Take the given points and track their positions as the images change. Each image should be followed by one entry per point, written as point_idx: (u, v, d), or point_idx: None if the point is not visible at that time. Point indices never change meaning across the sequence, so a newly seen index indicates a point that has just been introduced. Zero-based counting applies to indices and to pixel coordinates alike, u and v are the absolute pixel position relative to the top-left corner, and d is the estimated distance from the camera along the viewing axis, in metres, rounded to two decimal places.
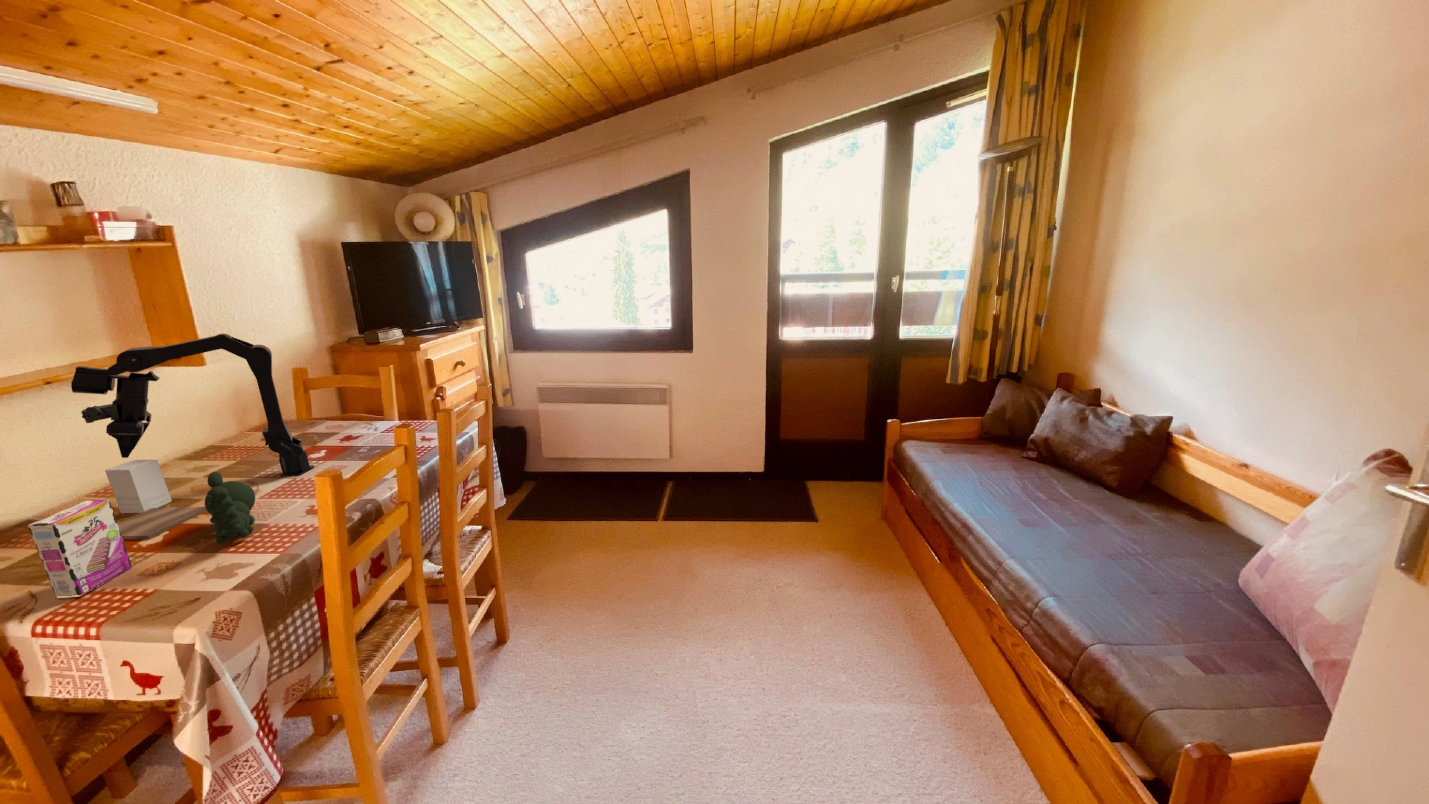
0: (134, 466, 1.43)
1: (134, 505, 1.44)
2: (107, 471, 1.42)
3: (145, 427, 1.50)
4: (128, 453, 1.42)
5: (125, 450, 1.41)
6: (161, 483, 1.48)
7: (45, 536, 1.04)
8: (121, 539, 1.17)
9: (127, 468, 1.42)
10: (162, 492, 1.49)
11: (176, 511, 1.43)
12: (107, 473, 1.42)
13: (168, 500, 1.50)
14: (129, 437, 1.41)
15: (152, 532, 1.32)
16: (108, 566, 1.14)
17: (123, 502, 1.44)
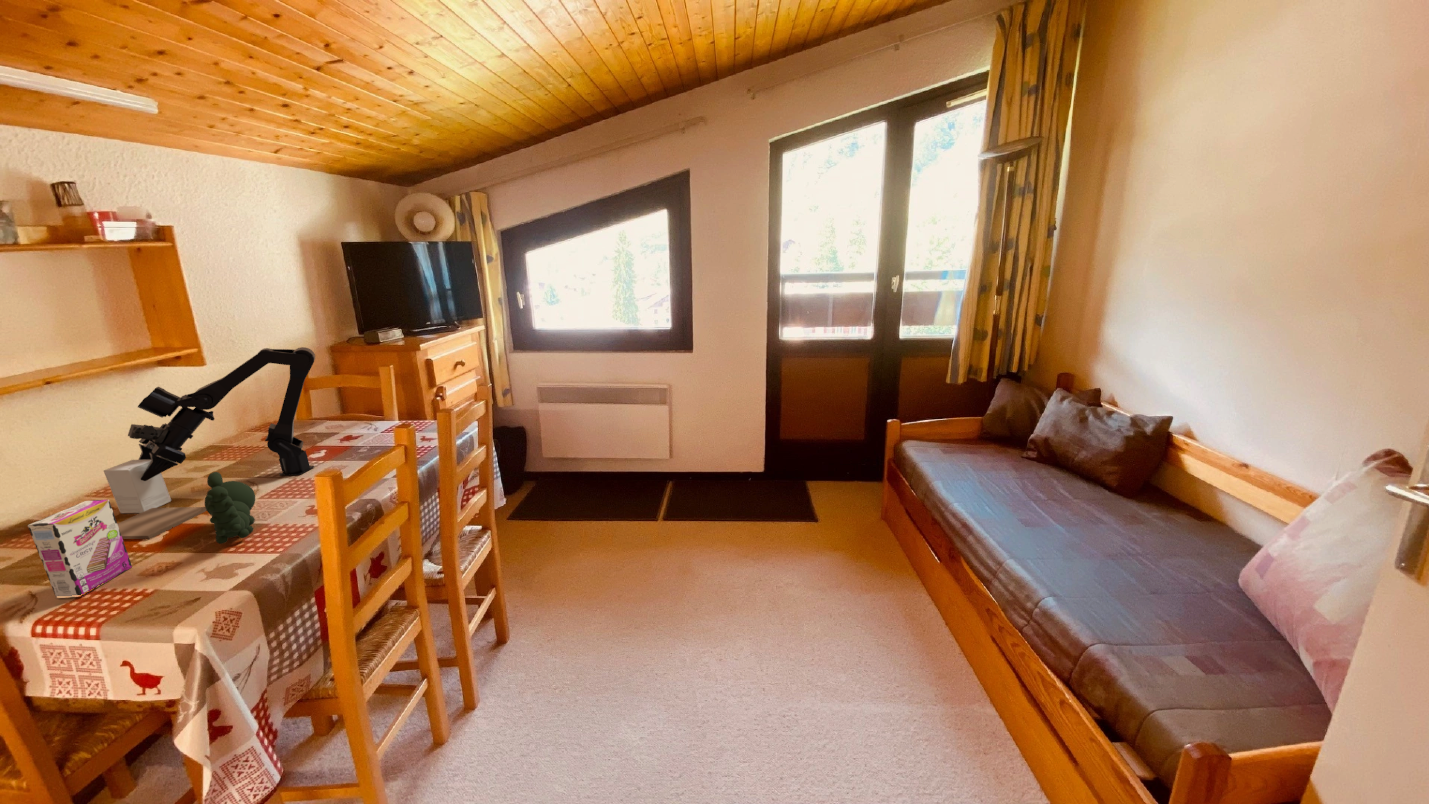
0: (133, 466, 1.43)
1: (133, 505, 1.44)
2: (106, 471, 1.41)
3: None
4: (149, 477, 1.44)
5: (149, 474, 1.44)
6: (160, 483, 1.48)
7: (45, 536, 1.04)
8: (121, 539, 1.17)
9: (126, 468, 1.42)
10: (161, 492, 1.49)
11: (176, 511, 1.43)
12: (106, 473, 1.41)
13: (168, 500, 1.50)
14: (163, 463, 1.45)
15: (152, 532, 1.32)
16: (108, 566, 1.14)
17: (122, 502, 1.44)
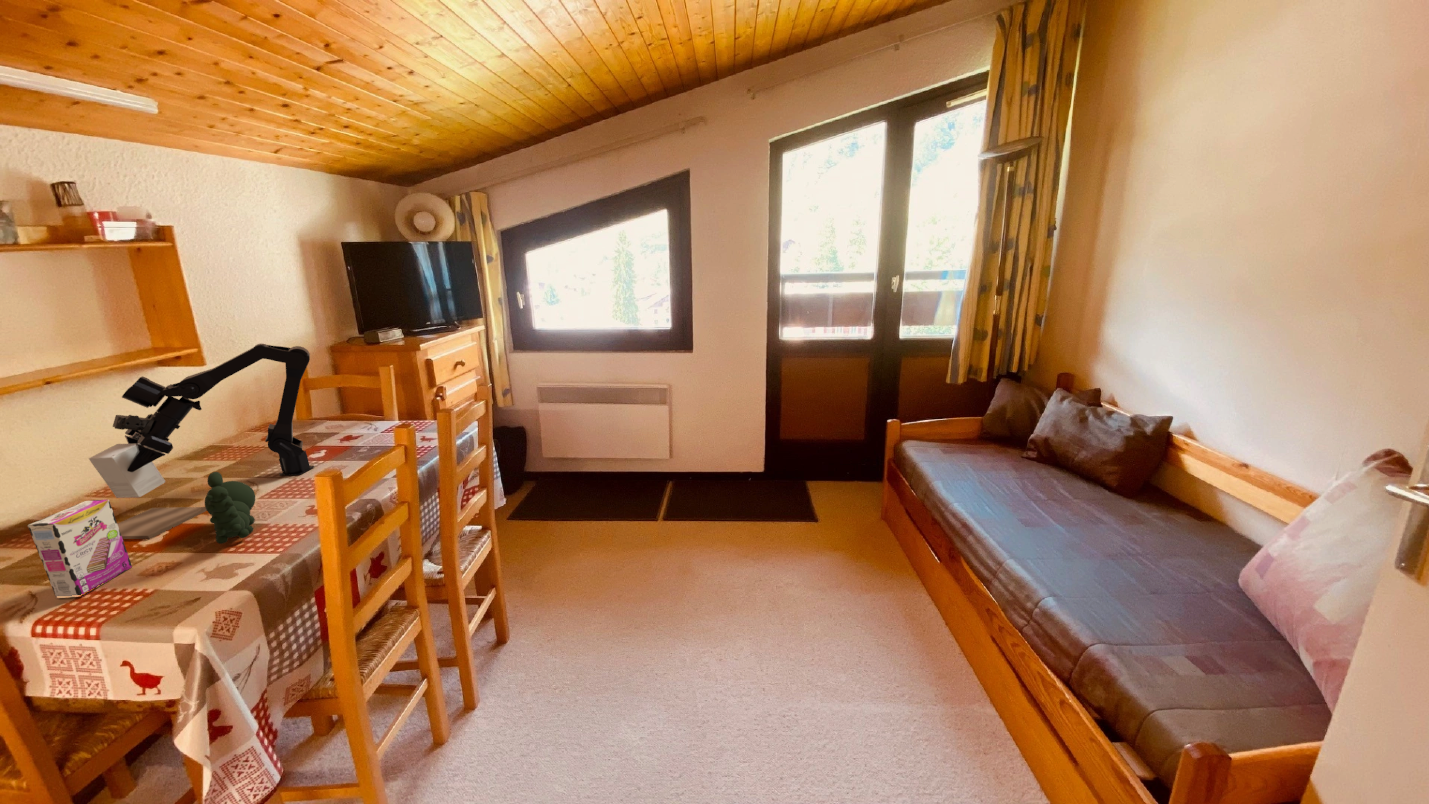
0: (117, 453, 1.40)
1: (127, 490, 1.42)
2: (91, 459, 1.39)
3: None
4: (136, 468, 1.42)
5: (136, 464, 1.41)
6: (150, 466, 1.46)
7: (45, 536, 1.04)
8: (121, 539, 1.17)
9: (110, 455, 1.39)
10: (153, 474, 1.47)
11: (176, 511, 1.43)
12: (92, 461, 1.39)
13: (162, 481, 1.49)
14: (149, 453, 1.43)
15: (152, 532, 1.32)
16: (108, 566, 1.14)
17: (115, 488, 1.42)
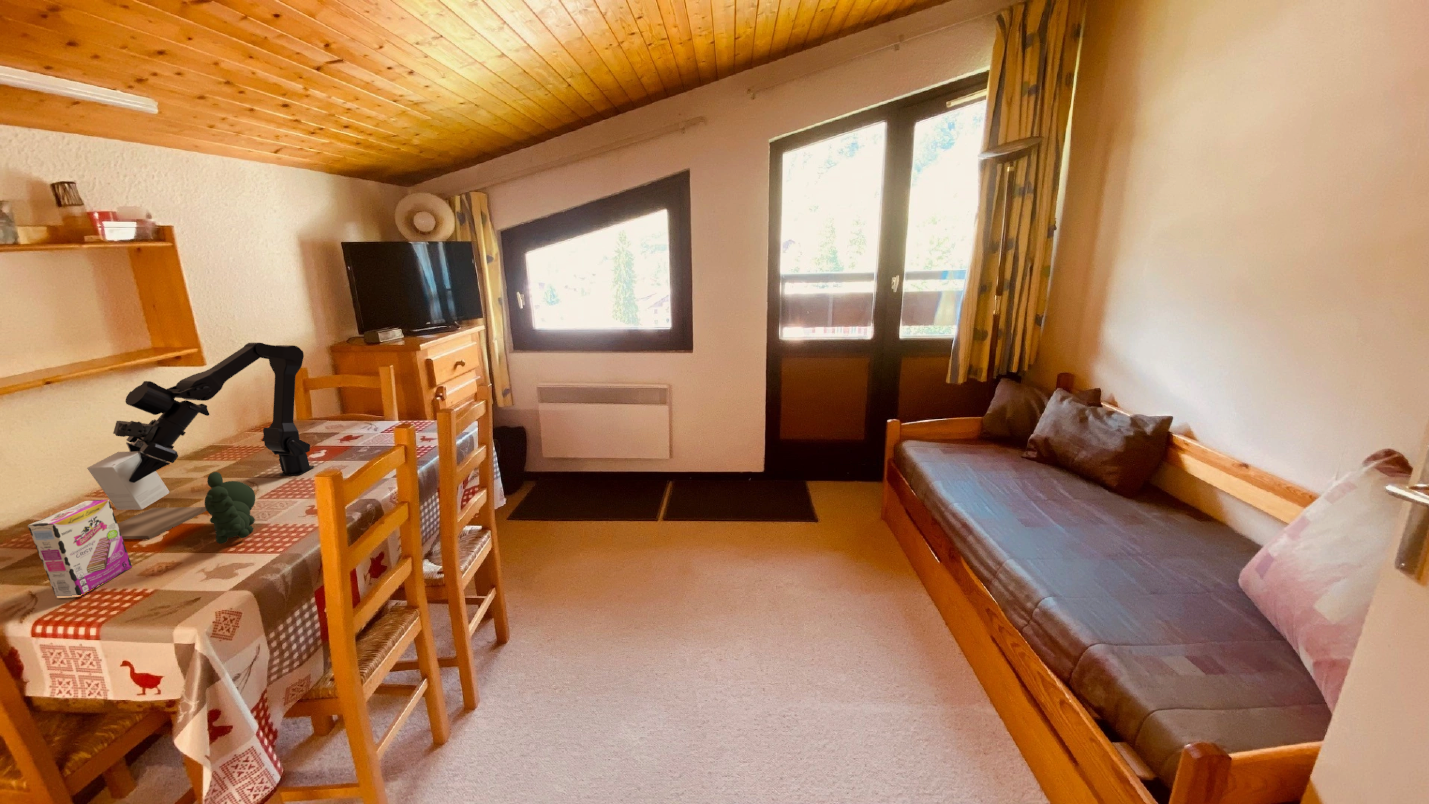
0: (118, 462, 1.29)
1: (128, 502, 1.32)
2: (90, 469, 1.28)
3: None
4: (138, 478, 1.31)
5: (139, 474, 1.31)
6: (153, 475, 1.36)
7: (45, 536, 1.04)
8: (121, 539, 1.17)
9: (110, 464, 1.29)
10: (156, 485, 1.36)
11: (176, 511, 1.43)
12: (90, 471, 1.29)
13: (166, 492, 1.38)
14: (153, 462, 1.33)
15: (152, 532, 1.32)
16: (108, 566, 1.14)
17: (116, 499, 1.32)
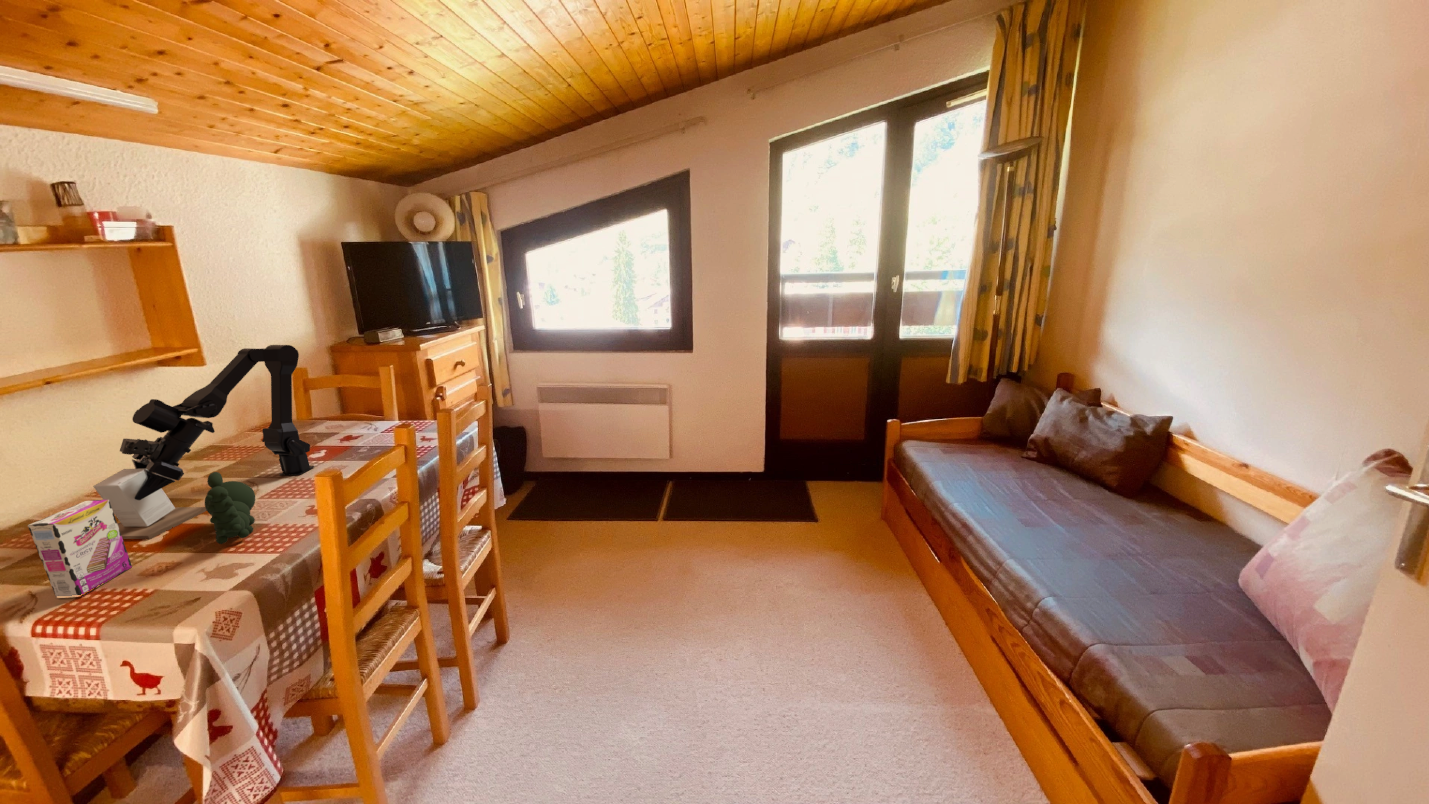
0: (123, 480, 1.30)
1: (134, 519, 1.33)
2: (96, 487, 1.29)
3: None
4: (144, 496, 1.32)
5: (144, 492, 1.32)
6: (158, 492, 1.37)
7: (45, 536, 1.04)
8: (121, 539, 1.17)
9: (115, 483, 1.30)
10: (162, 501, 1.37)
11: (176, 511, 1.43)
12: (96, 489, 1.30)
13: (171, 508, 1.39)
14: (158, 480, 1.34)
15: (152, 532, 1.32)
16: (108, 566, 1.14)
17: (122, 516, 1.33)
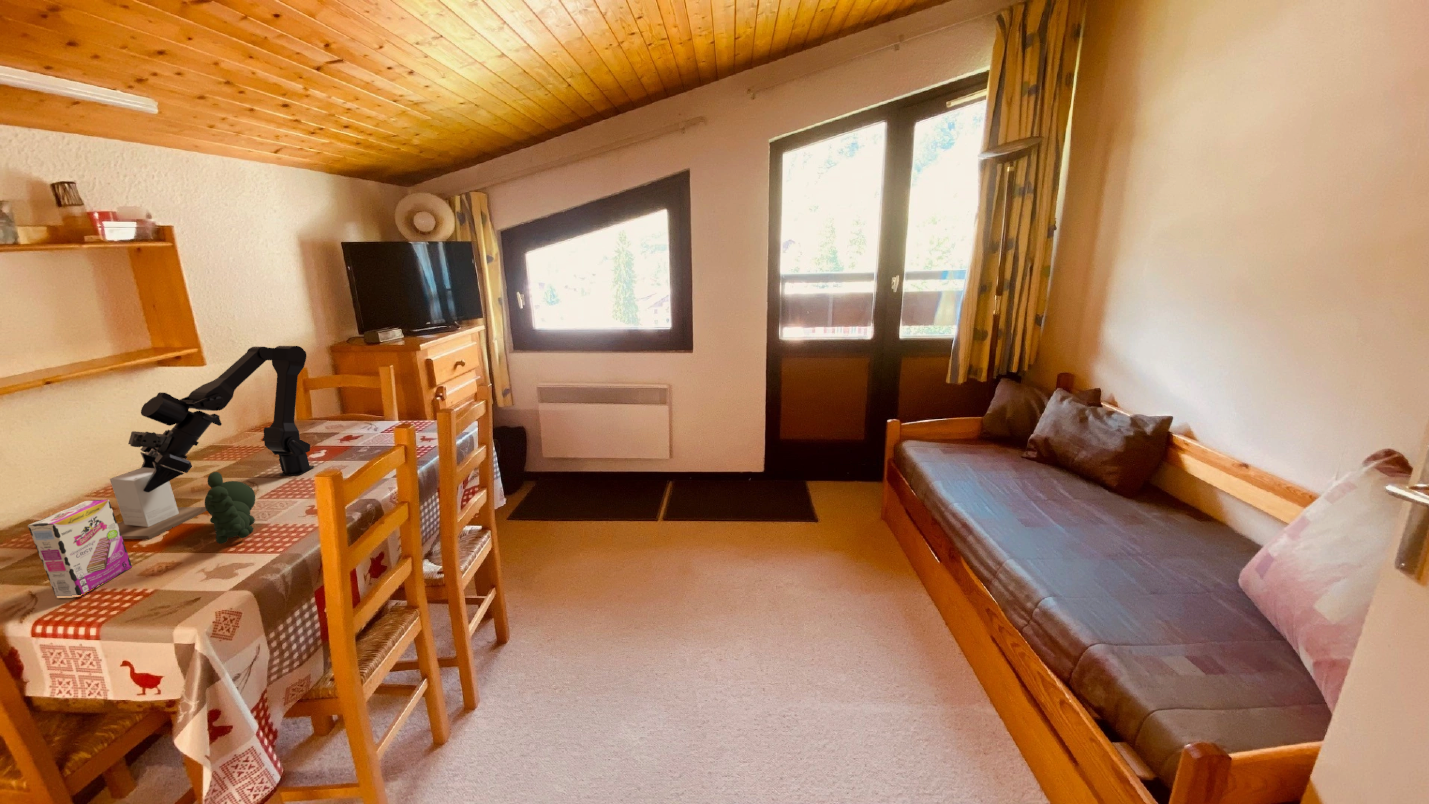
0: (140, 476, 1.33)
1: (137, 518, 1.34)
2: (112, 480, 1.32)
3: None
4: (153, 488, 1.34)
5: (153, 484, 1.33)
6: (168, 494, 1.38)
7: (45, 536, 1.04)
8: (121, 539, 1.17)
9: (132, 478, 1.32)
10: (169, 504, 1.38)
11: None
12: (112, 482, 1.32)
13: (175, 512, 1.40)
14: (167, 472, 1.35)
15: (152, 532, 1.32)
16: (108, 566, 1.14)
17: (127, 513, 1.34)
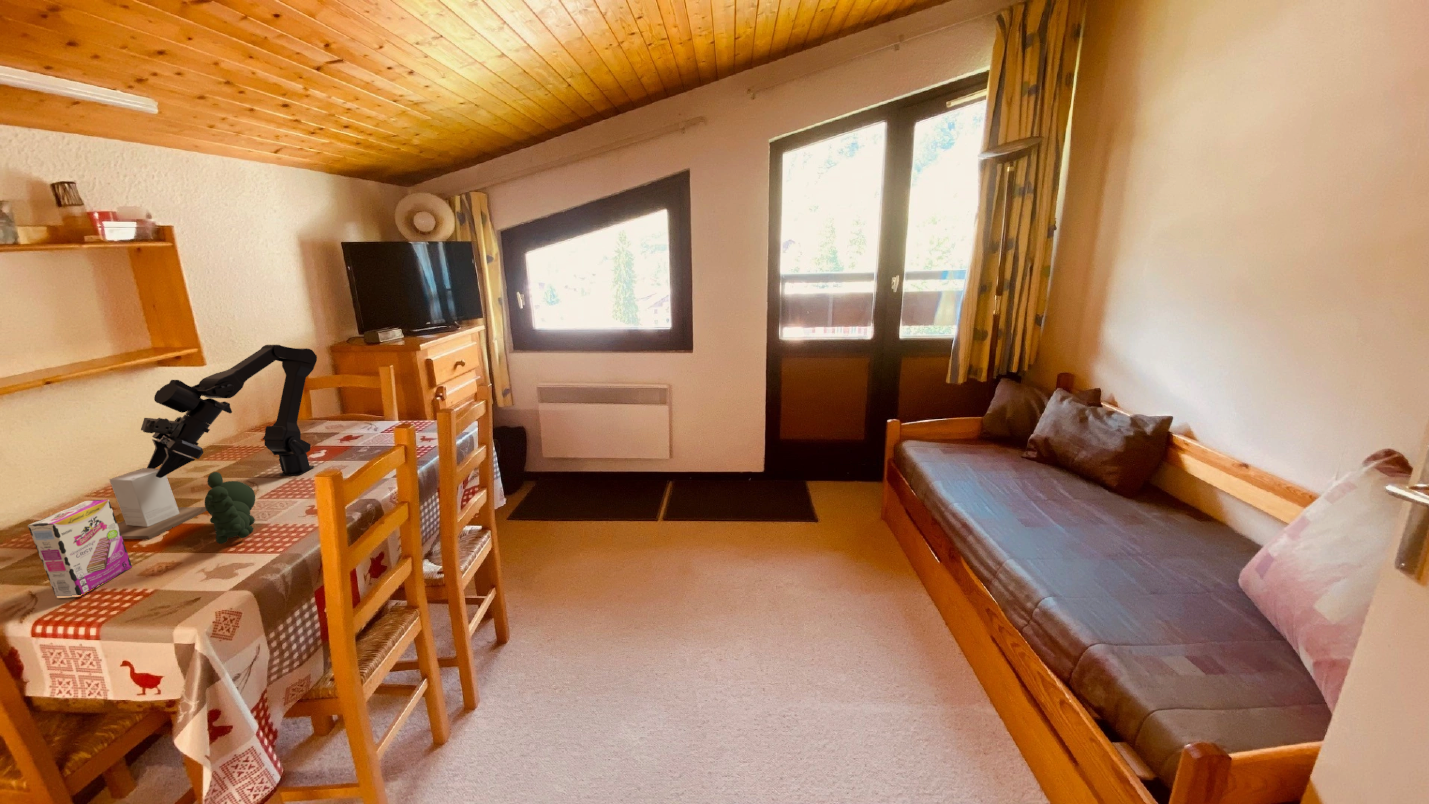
0: (138, 476, 1.33)
1: (137, 518, 1.34)
2: (111, 480, 1.32)
3: None
4: (165, 474, 1.35)
5: (165, 470, 1.35)
6: (168, 494, 1.38)
7: (45, 536, 1.04)
8: (121, 539, 1.17)
9: (130, 478, 1.32)
10: (168, 504, 1.38)
11: None
12: (111, 483, 1.33)
13: (176, 512, 1.40)
14: (179, 458, 1.36)
15: (152, 532, 1.32)
16: (108, 566, 1.14)
17: (127, 514, 1.34)
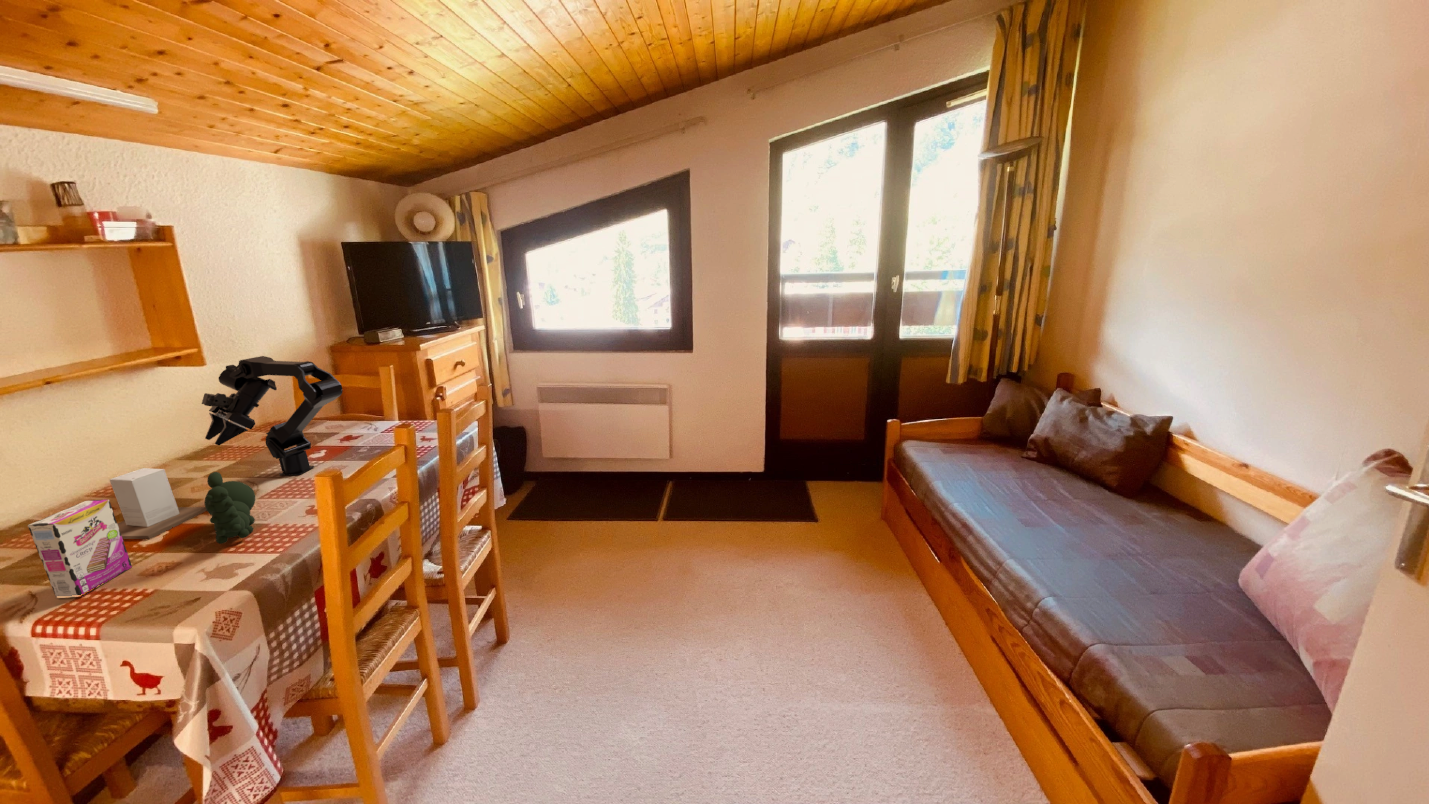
0: (138, 476, 1.33)
1: (137, 518, 1.34)
2: (111, 480, 1.32)
3: None
4: (222, 442, 1.55)
5: (223, 438, 1.55)
6: (168, 494, 1.38)
7: (45, 536, 1.04)
8: (121, 539, 1.17)
9: (130, 478, 1.32)
10: (168, 504, 1.38)
11: None
12: (111, 483, 1.33)
13: (176, 512, 1.40)
14: (234, 429, 1.57)
15: (152, 532, 1.32)
16: (108, 566, 1.14)
17: (127, 514, 1.34)
